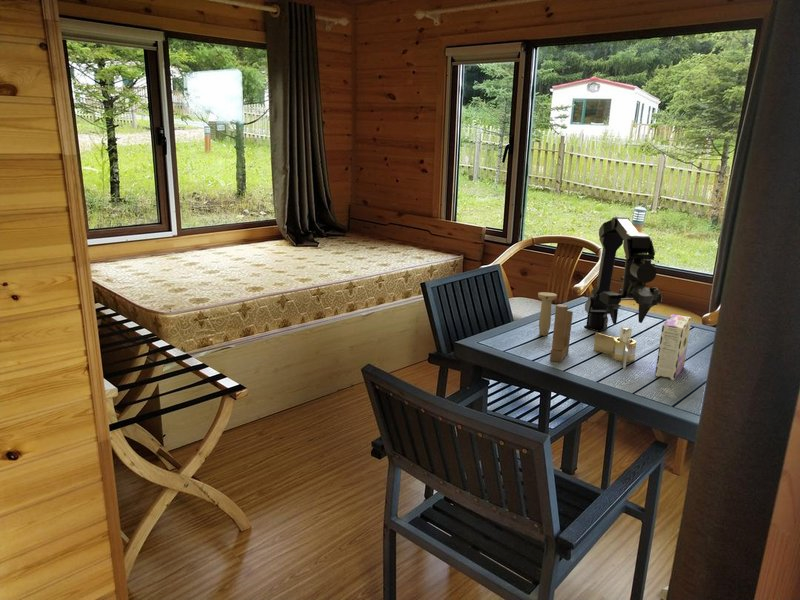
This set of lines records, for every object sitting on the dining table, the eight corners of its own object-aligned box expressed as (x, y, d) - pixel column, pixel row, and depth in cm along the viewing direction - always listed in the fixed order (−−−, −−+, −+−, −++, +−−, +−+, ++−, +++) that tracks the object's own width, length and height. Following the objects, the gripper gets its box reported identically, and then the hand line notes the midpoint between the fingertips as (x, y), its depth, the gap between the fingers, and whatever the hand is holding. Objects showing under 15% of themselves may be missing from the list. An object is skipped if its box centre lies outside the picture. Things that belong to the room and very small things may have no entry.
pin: (615, 357, 194) (619, 328, 191) (620, 355, 196) (624, 326, 194) (624, 360, 192) (628, 330, 189) (629, 358, 194) (633, 328, 191)
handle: (534, 331, 218) (538, 291, 214) (553, 333, 217) (557, 293, 213) (534, 335, 214) (537, 294, 210) (552, 337, 212) (556, 296, 208)
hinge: (579, 355, 195) (581, 338, 194) (598, 347, 203) (600, 330, 202) (624, 369, 184) (627, 351, 183) (643, 360, 192) (645, 342, 191)
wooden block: (568, 352, 198) (574, 299, 193) (561, 363, 189) (566, 307, 184) (557, 350, 199) (562, 298, 195) (549, 360, 190) (554, 306, 185)
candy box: (664, 362, 191) (671, 313, 187) (684, 367, 188) (692, 316, 183) (654, 376, 180) (661, 323, 176) (675, 380, 177) (683, 327, 172)
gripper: (621, 282, 177) (615, 332, 181) (676, 280, 181) (669, 329, 185) (601, 273, 188) (595, 321, 192) (653, 272, 192) (647, 319, 196)
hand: (627, 323), depth 191 cm, fingers open, 9 cm apart
